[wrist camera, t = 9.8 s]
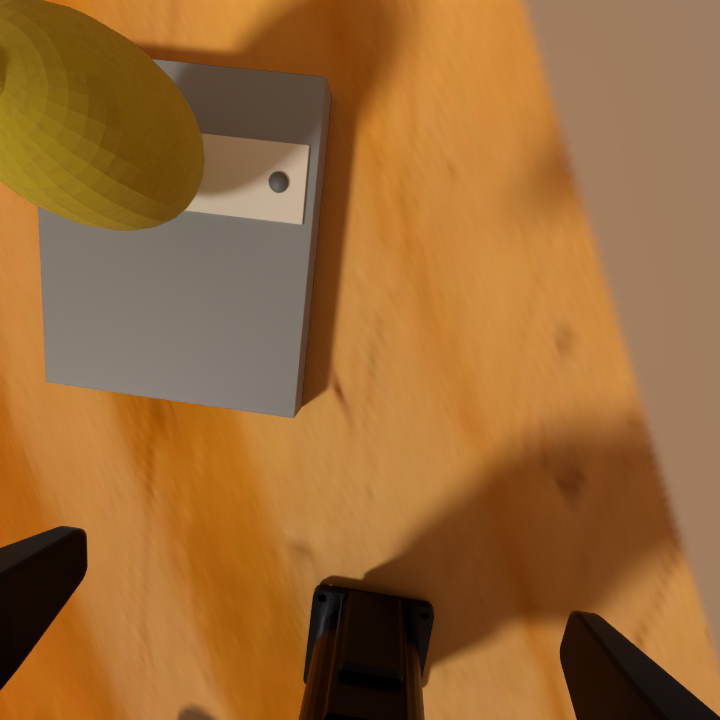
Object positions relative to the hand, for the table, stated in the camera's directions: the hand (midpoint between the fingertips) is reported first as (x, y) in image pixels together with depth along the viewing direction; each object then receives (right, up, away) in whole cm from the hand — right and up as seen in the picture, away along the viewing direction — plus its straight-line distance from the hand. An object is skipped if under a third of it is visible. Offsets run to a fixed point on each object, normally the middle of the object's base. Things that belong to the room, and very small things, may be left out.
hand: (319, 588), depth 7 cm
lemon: (-7, +12, +9) cm, 16 cm away
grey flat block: (-7, +9, +11) cm, 16 cm away
